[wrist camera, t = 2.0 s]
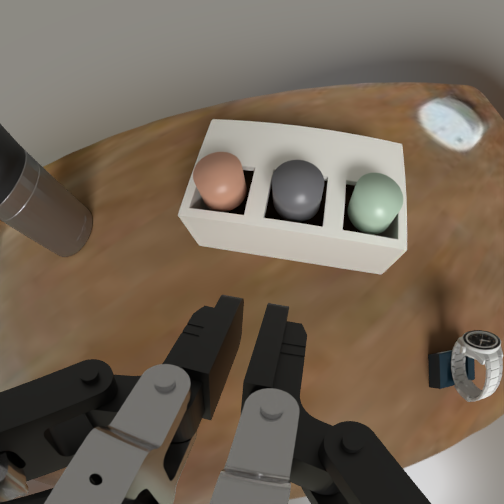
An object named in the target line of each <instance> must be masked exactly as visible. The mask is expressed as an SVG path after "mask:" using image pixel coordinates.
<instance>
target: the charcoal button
mask: <svg viewBox="0 0 504 504" xmlns="http://www.w3.org/2000/svg"><path fill="white" fill-rule="evenodd" d="M323 188H324V177H323V175H322V173H321V171H320V170H319V169H318V168H317V167H316V166H315V165H314V164H312V163H310V162H307V161H304V160H290V161H287V162H284V163H282V164H281V165H280V166H278V167H277V169H276V170H275V171H274V173H273V176H272V190H273V203H274V207H275V210H276V211H277V213H278V214H279V215H280V216H281V217H282V218H284V219H286V220H288V221H292V222H304V221H307V220H309V219H311V218H312V217H314V216H315V215H316V213H317V212H318V210H319V207H320V203H321V198H322V193H323Z"/></svg>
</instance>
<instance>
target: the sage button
mask: <svg viewBox="0 0 504 504" xmlns="http://www.w3.org/2000/svg"><path fill="white" fill-rule="evenodd" d="M402 205H403V194H402V191H401V189H400V187H399V186H398V184H397V183H396V182H395V181H394V180H393V179H392V178H390V177H389V176H387V175H384V174H381V173H368V174H365V175H363V176H362V177H361V178H360V179H359V180H358V181H357V183H356V186H355V188H354V191H353V194H352V197H351V199H350V202H349V205H348V216H349V219H350V221H351V223H352V224H353V225H354V226H355V227H356V228H357V229H358V230H360V231H361V232H364V233H366V234H379V233H382V232H383V231H385V230H386V229H387V228H388V227H389V225H390V224H391V222H392V221H393V220H394V218H395V217H396V215H397V214H398V212H399V211H400V210H401V208H402Z"/></svg>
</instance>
